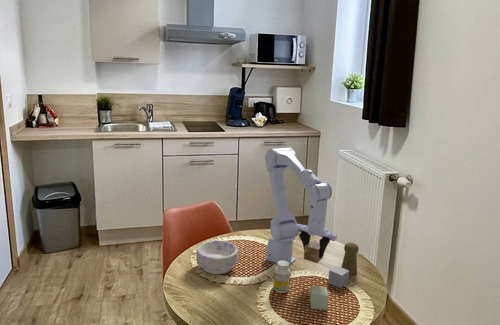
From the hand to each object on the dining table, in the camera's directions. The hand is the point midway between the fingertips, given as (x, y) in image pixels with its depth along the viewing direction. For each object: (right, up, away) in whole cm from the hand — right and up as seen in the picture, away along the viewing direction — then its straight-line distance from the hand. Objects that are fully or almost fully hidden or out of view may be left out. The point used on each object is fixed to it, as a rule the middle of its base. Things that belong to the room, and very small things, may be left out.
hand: (313, 254), depth 143 cm
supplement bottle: (-12, -11, -3) cm, 16 cm away
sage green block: (0, -14, -12) cm, 18 cm away
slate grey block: (+9, -11, +2) cm, 14 cm away
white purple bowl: (-34, -7, +8) cm, 36 cm away
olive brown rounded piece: (+15, -9, +11) cm, 21 cm away
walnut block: (0, -1, 0) cm, 2 cm away
